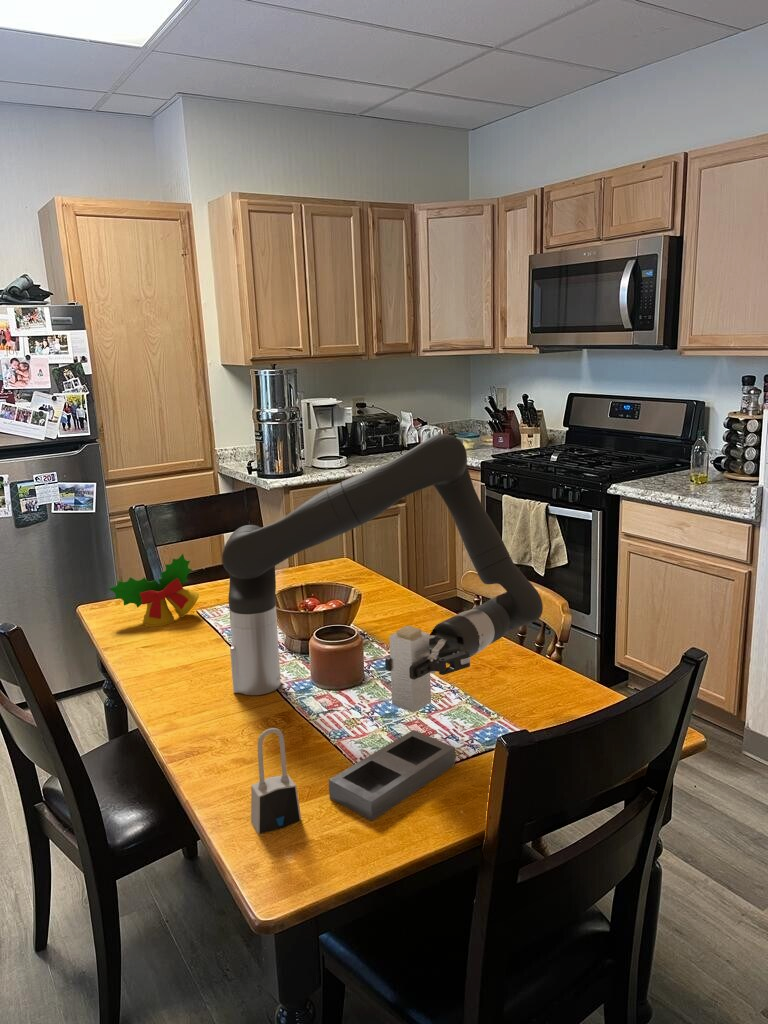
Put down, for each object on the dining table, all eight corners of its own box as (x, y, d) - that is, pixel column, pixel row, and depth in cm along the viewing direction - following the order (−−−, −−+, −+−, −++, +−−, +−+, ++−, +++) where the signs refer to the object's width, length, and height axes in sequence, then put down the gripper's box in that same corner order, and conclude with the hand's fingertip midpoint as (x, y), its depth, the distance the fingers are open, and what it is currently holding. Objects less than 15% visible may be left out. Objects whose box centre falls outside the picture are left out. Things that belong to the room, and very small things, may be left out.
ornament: (135, 646, 195) (109, 602, 186) (130, 627, 201) (106, 584, 193) (212, 611, 199) (191, 567, 190) (206, 593, 206) (185, 550, 197)
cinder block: (371, 821, 115) (371, 801, 114) (329, 798, 120) (328, 779, 120) (455, 764, 129) (454, 747, 128) (413, 746, 135) (413, 729, 134)
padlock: (258, 835, 112) (251, 741, 109) (250, 820, 116) (243, 728, 112) (302, 821, 115) (297, 729, 112) (292, 807, 119) (287, 717, 115)
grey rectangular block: (413, 712, 124) (410, 637, 121) (392, 704, 127) (389, 631, 124) (431, 702, 127) (428, 628, 124) (409, 694, 130) (407, 622, 127)
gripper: (430, 606, 139) (365, 636, 127) (497, 624, 130) (433, 658, 118) (431, 646, 141) (367, 679, 129) (497, 666, 132) (435, 704, 119)
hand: (399, 669), depth 123 cm, fingers closed on grey rectangular block, 4 cm apart
